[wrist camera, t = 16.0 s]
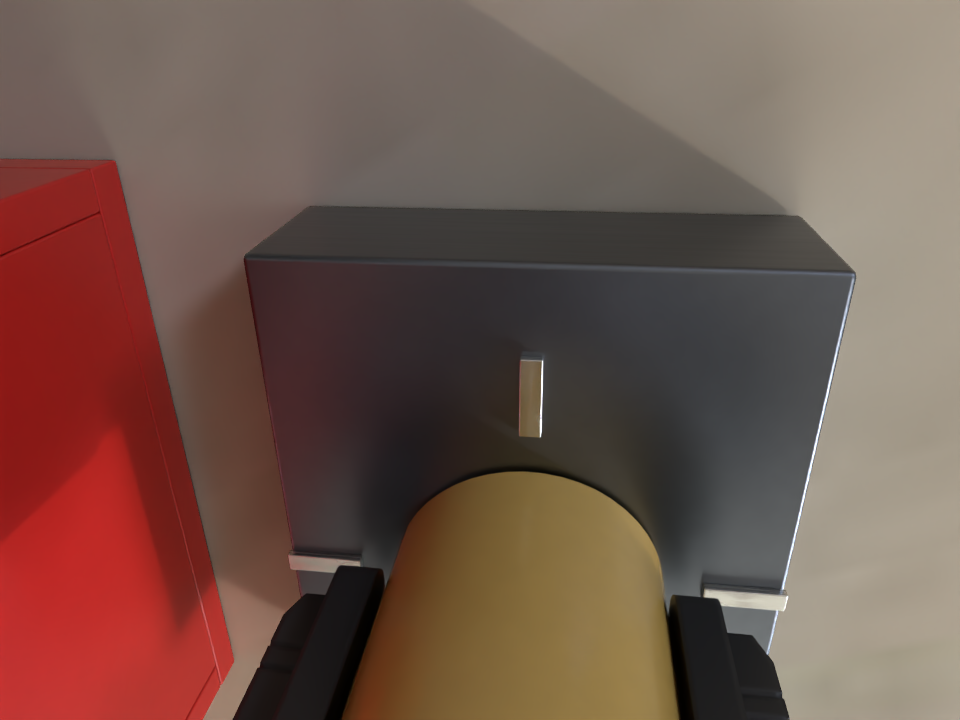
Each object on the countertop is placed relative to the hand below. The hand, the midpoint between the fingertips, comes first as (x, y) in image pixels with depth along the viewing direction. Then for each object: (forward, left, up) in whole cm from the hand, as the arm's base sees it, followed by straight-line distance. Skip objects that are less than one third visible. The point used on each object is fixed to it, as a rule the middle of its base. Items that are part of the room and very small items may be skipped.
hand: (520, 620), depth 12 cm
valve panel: (0, 0, -4) cm, 4 cm away
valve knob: (0, 0, -1) cm, 1 cm away
